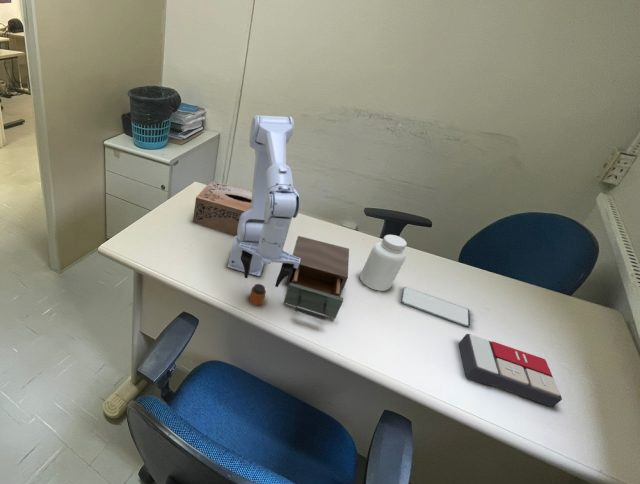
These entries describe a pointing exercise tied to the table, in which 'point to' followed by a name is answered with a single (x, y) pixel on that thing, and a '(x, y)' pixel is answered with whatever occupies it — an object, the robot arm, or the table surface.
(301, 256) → the cabinet
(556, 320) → the table surface
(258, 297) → the bottle
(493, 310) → the table surface
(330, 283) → the drawer
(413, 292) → the smartphone
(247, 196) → the tissue box cover
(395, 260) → the pill bottle
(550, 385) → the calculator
